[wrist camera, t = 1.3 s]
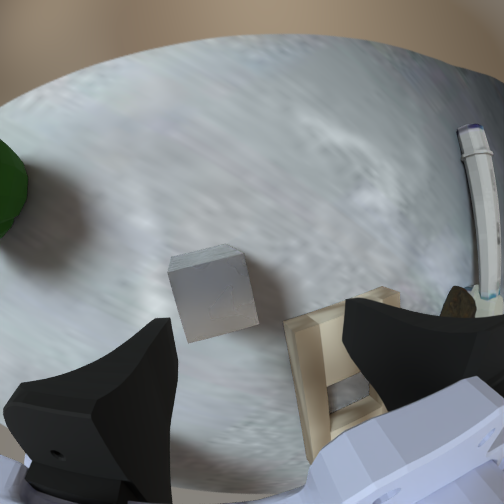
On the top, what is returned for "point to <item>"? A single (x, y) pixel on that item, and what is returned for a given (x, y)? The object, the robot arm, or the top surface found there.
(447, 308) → the dark brown wood piece
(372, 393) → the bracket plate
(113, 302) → the top surface
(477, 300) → the white elongated piece
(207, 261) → the pale grey block
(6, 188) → the bell pepper
